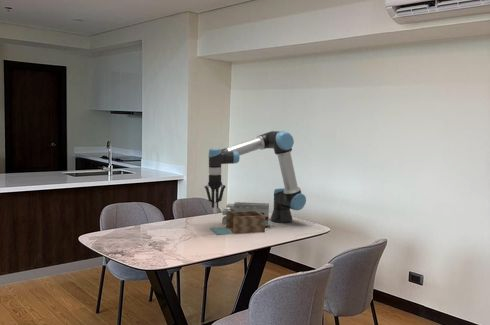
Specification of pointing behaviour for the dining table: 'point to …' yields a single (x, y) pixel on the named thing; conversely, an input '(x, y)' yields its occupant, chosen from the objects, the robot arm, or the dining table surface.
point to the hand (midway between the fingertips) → (214, 212)
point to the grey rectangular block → (247, 209)
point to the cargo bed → (245, 222)
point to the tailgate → (221, 231)
